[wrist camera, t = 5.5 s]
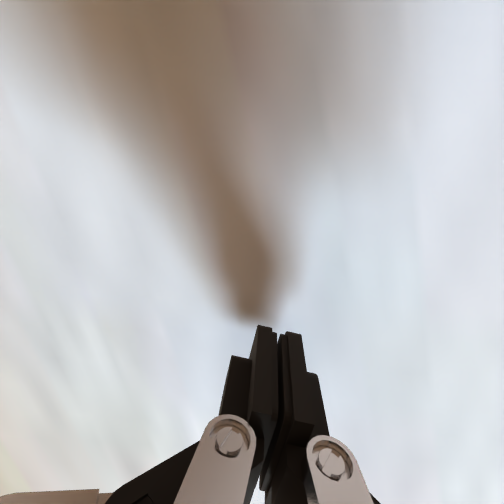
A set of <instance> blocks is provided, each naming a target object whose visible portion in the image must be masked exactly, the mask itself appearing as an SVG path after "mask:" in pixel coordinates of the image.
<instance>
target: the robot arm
mask: <svg viewBox="0 0 504 504" xmlns="http://www.w3.org/2000/svg"><path fill="white" fill-rule="evenodd" d="M259 475H260V481H259V488H260V490H261V491H265V504H380V503H379V502H378V501H377V500H376V499H375V498H374V497H373V496H372V495H371V493H370V492H369V490H368V488H367V485H366V483H365V480H364V478H363V475H362V473H361V470H360V468H359V465H358V463H357V461H356V459H355V457H354V455H353V453H352V452H351V451H350V450H349V449H348V447H347V446H346V445H344V444H343V443H342V442H341V441H339V440H337V439H335V438H333V437H330V436H329V431H328V426H327V421H326V415H325V410H324V405H323V400H322V395H321V390H320V385H319V380H318V376H317V375H316V374H314V373H309V372H307V369H306V363H305V356H304V350H303V343H302V336H301V334H297V333H292V332H288V331H287V332H286V333H285V335H284V334H280V336H279V340H278V343H277V333H275V332H272V328H270V327H265V326H261V325H258V326H257V330H256V334H255V338H254V341H253V345H252V349H251V353H250V357H249V359H247V358H242V357H238V356H233V355H232V356H231V360H230V364H229V369H228V373H227V377H226V382H225V386H224V391H223V396H222V401H221V406H220V411H219V416H217V417H215V418H214V419H212V420H211V421H210V422H209V423H208V425H207V426H206V428H205V430H204V433H203V435H202V437H201V440H200V441H198V442H196V443H195V444H193V445H191V446H190V447H188V448H186V449H184V450H183V451H181V452H179V453H178V454H176V455H174V456H172V457H171V458H169V459H167V460H166V461H164V462H162V463H160V464H159V465H157V466H155V467H154V468H152V469H150V470H148V471H147V472H145V473H143V474H142V475H140V476H138V477H136V478H135V479H133V480H131V481H130V482H128V483H126V484H124V485H123V486H121V487H120V488H119V489H117V490H116V491H115V492H114V493H99V489H85V490H64V491H43V492H21V493H12V494H7V495H3V496H1V497H0V504H250V501H251V498H252V495H253V492H254V489H255V487H256V484H257V481H258V478H259Z"/></svg>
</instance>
